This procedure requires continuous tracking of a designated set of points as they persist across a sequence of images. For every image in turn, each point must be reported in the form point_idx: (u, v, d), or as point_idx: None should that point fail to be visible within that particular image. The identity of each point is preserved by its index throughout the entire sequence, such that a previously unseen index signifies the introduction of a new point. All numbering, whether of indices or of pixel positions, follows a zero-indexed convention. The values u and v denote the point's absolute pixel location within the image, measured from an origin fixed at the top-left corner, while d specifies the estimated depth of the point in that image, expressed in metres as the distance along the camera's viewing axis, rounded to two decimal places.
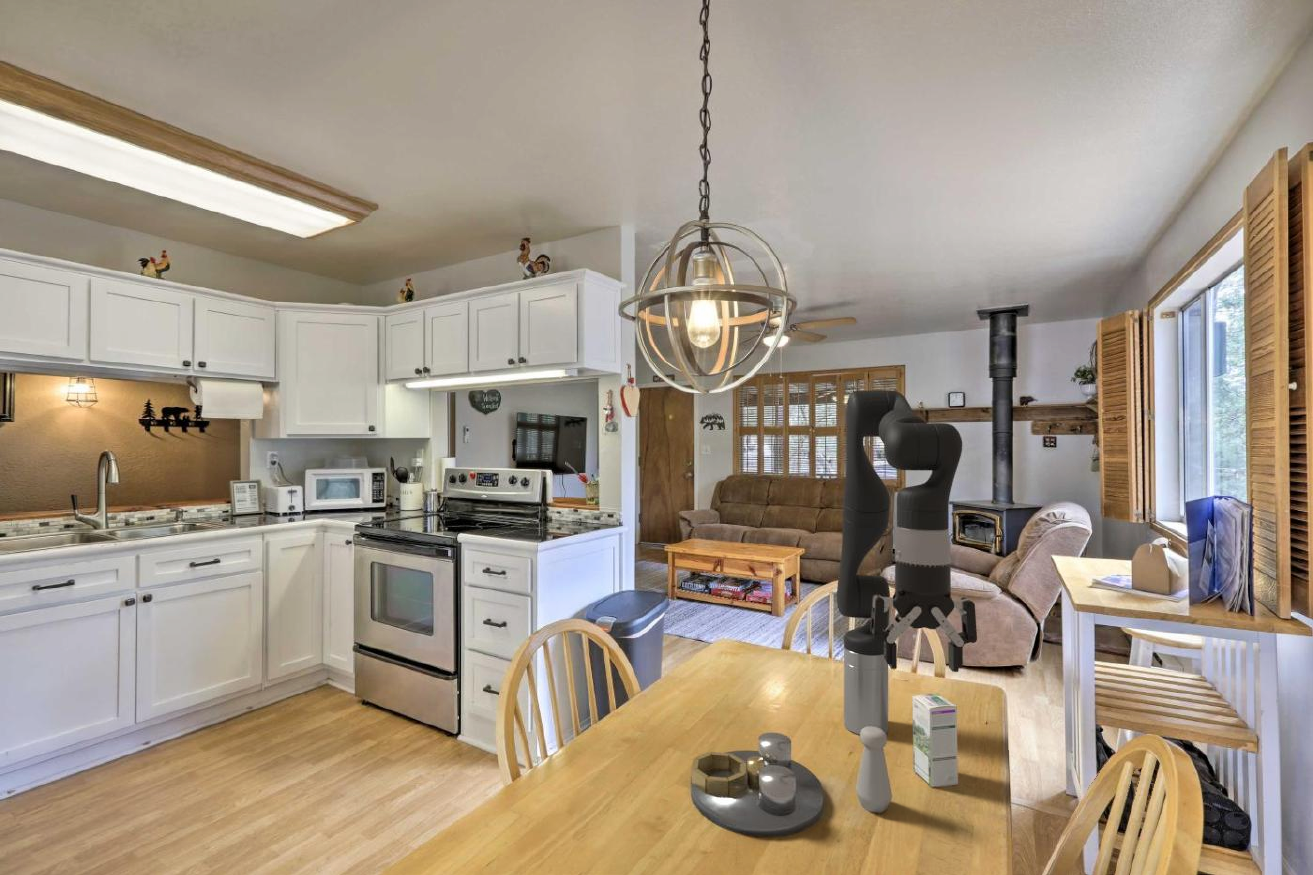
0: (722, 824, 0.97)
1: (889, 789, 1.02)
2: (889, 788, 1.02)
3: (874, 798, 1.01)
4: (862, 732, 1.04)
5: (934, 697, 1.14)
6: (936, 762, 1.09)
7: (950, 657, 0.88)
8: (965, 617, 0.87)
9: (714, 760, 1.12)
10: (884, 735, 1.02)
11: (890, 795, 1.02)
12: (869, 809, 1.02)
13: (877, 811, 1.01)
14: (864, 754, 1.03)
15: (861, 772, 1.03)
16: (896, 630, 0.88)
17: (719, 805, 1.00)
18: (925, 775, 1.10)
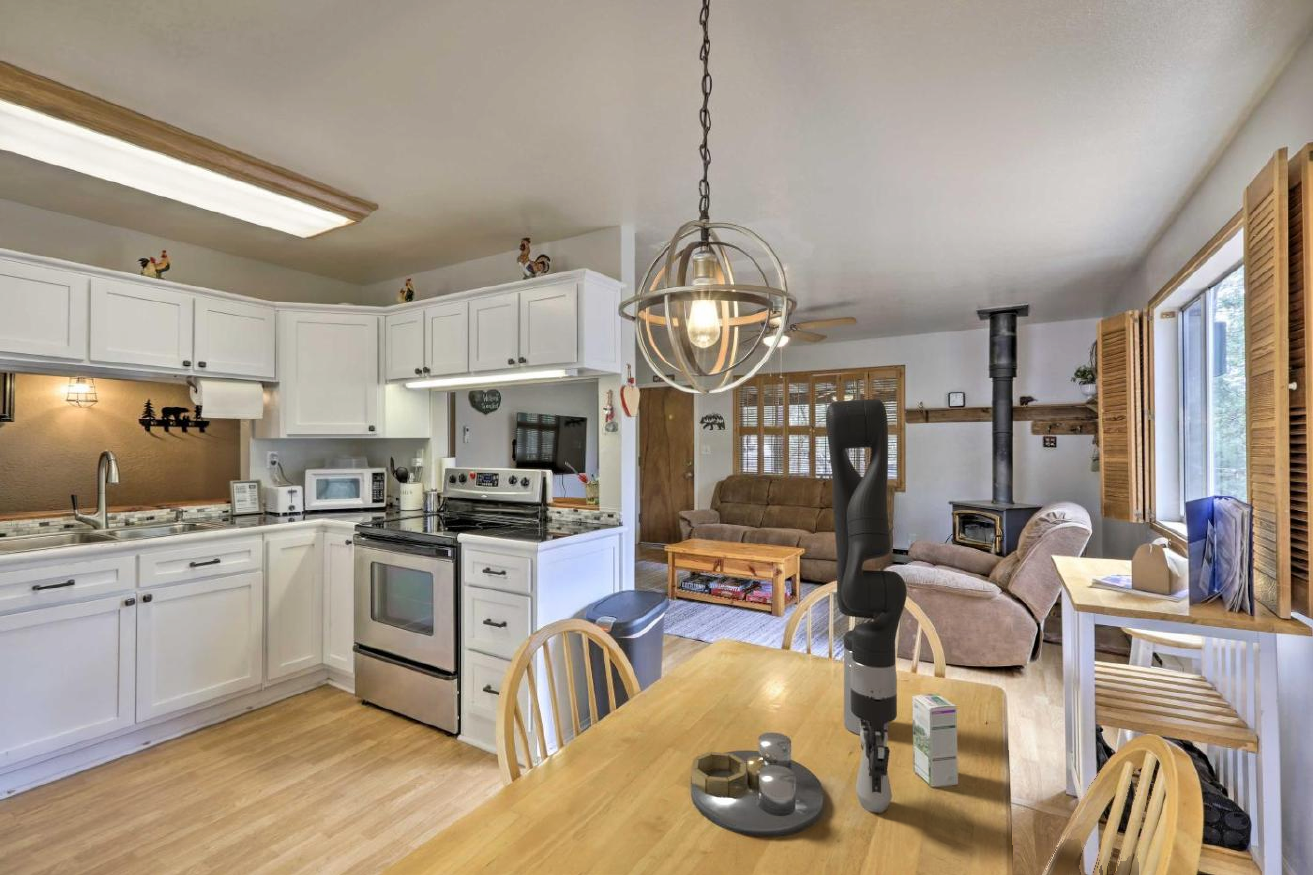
0: (722, 824, 0.97)
1: (889, 789, 1.02)
2: (889, 788, 1.02)
3: (874, 798, 1.01)
4: None
5: (934, 697, 1.14)
6: (936, 762, 1.09)
7: None
8: None
9: (714, 760, 1.12)
10: None
11: (890, 795, 1.02)
12: (869, 809, 1.02)
13: (877, 811, 1.01)
14: (864, 754, 1.03)
15: (861, 772, 1.03)
16: None
17: (719, 805, 1.00)
18: (925, 775, 1.10)
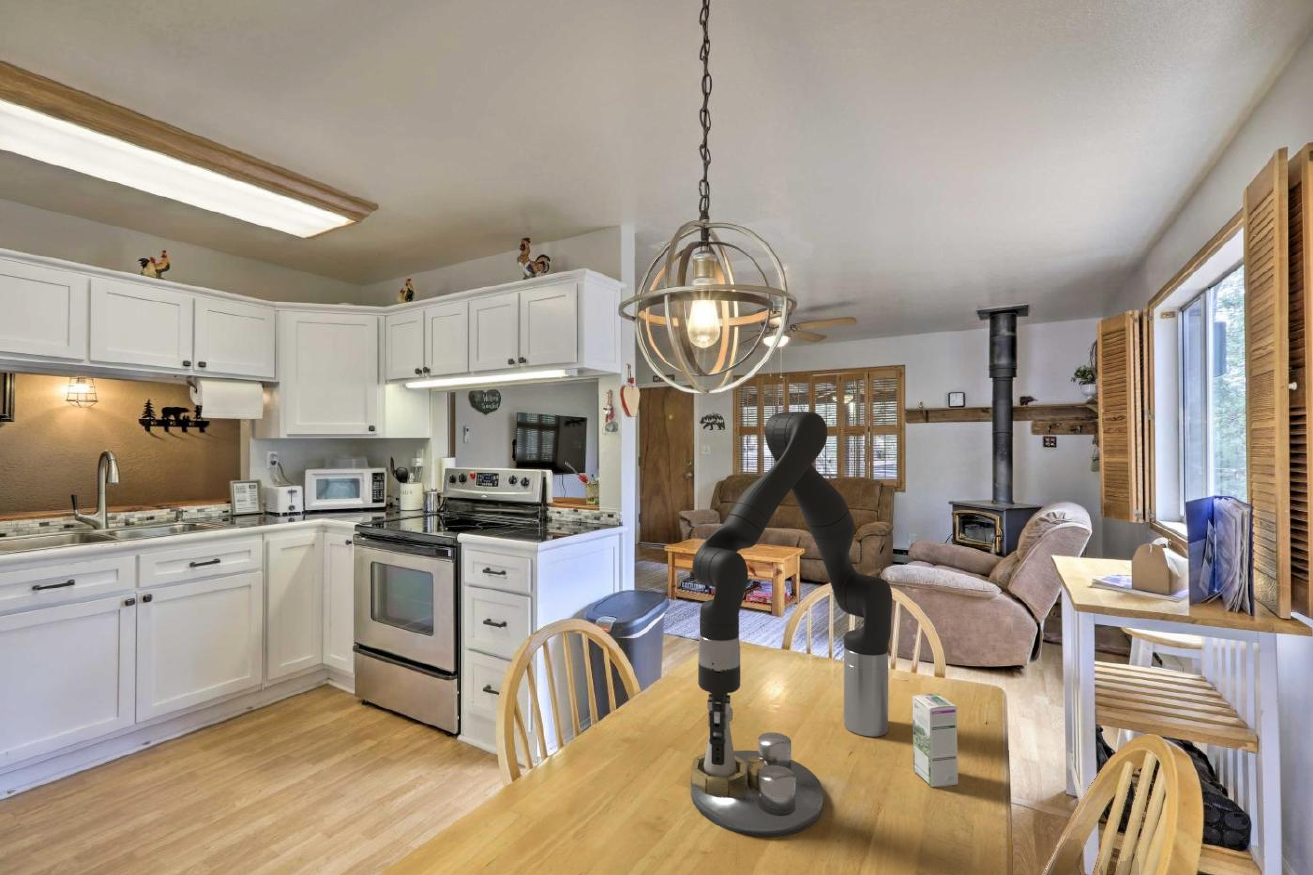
0: (722, 824, 0.97)
1: (733, 763, 1.06)
2: (733, 762, 1.06)
3: (717, 771, 1.05)
4: None
5: (934, 697, 1.14)
6: (936, 762, 1.09)
7: None
8: None
9: None
10: (730, 711, 1.07)
11: (733, 768, 1.06)
12: None
13: None
14: None
15: (708, 746, 1.07)
16: None
17: (719, 805, 1.00)
18: (925, 775, 1.10)
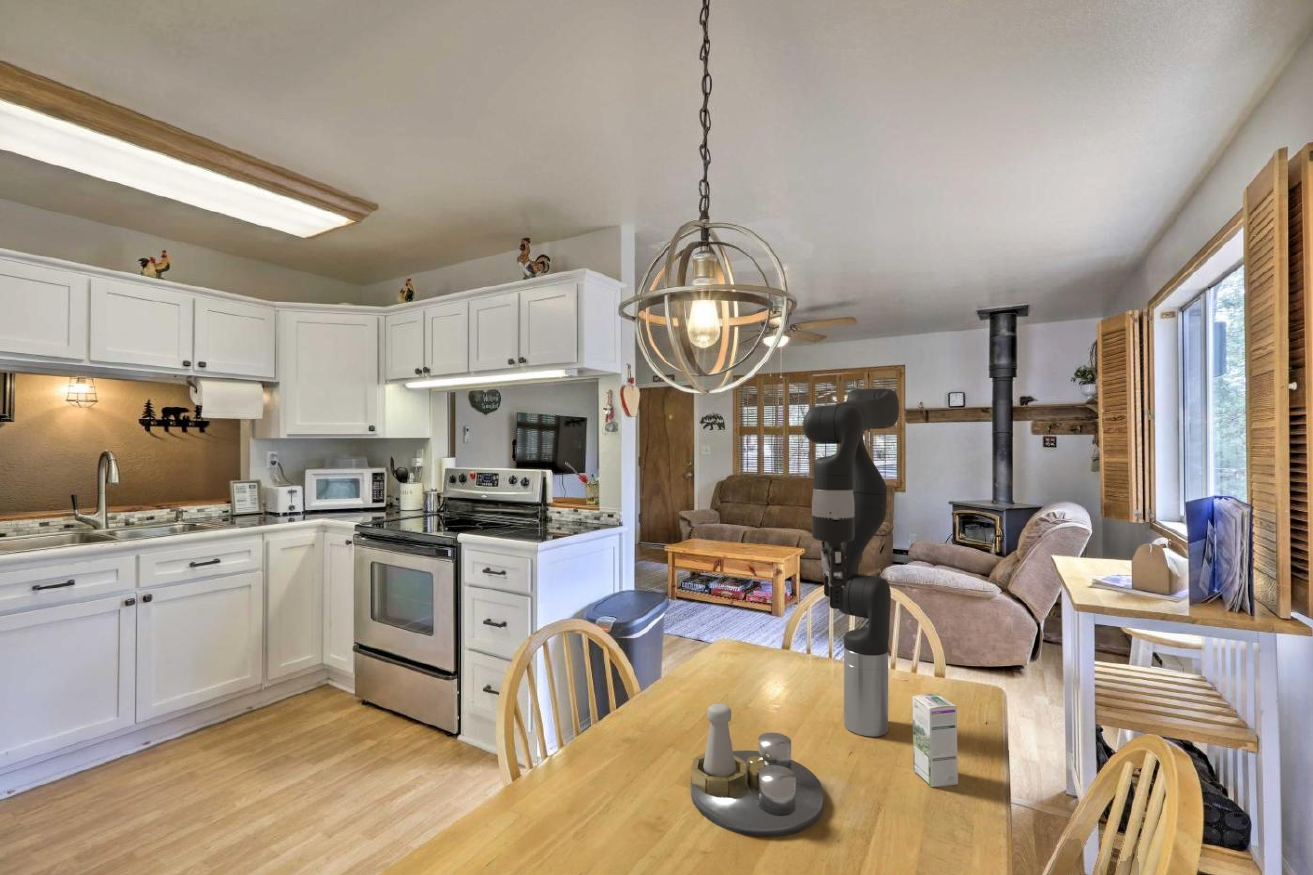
0: (722, 824, 0.97)
1: (732, 763, 1.06)
2: (732, 762, 1.06)
3: (717, 771, 1.05)
4: (708, 709, 1.08)
5: (934, 697, 1.14)
6: (936, 762, 1.09)
7: (830, 586, 1.15)
8: None
9: None
10: (728, 711, 1.07)
11: (733, 768, 1.06)
12: None
13: None
14: (710, 730, 1.07)
15: (707, 747, 1.07)
16: None
17: (719, 805, 1.00)
18: (925, 775, 1.10)
